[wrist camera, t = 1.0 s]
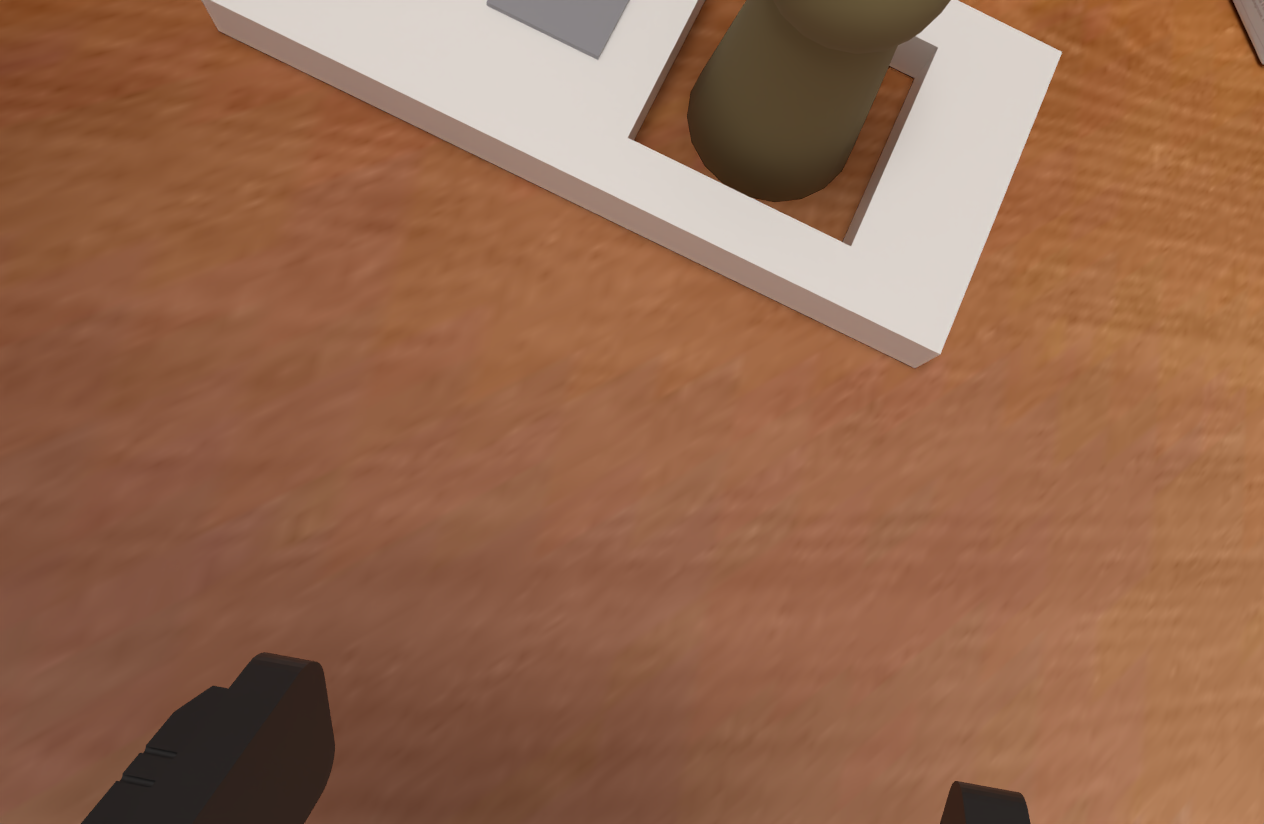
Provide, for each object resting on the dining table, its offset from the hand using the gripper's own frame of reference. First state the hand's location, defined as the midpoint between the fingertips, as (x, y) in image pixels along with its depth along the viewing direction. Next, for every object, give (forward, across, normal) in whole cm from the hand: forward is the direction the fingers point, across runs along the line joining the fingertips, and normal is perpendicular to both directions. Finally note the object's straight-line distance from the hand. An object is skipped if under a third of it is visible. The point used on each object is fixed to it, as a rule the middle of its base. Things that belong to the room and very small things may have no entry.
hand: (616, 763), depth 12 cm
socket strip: (+26, +5, -5) cm, 27 cm away
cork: (+26, 0, -3) cm, 27 cm away
